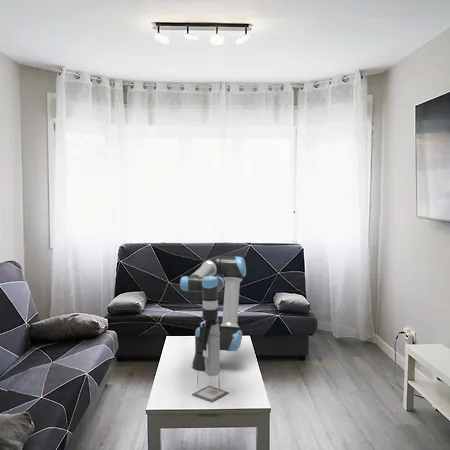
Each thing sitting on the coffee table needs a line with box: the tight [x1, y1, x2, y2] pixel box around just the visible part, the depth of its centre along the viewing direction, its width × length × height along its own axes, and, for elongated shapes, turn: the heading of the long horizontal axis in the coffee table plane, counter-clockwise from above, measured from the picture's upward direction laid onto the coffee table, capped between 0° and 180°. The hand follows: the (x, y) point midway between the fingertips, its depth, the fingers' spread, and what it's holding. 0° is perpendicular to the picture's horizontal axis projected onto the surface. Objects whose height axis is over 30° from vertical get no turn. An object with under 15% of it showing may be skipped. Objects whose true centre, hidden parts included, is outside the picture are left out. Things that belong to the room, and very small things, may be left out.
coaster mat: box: [191, 385, 230, 403], centre depth 224 cm, size 13×13×1 cm
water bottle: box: [204, 323, 221, 377], centre depth 223 cm, size 9×8×25 cm
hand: (210, 354), depth 222 cm, fingers open, 6 cm apart
